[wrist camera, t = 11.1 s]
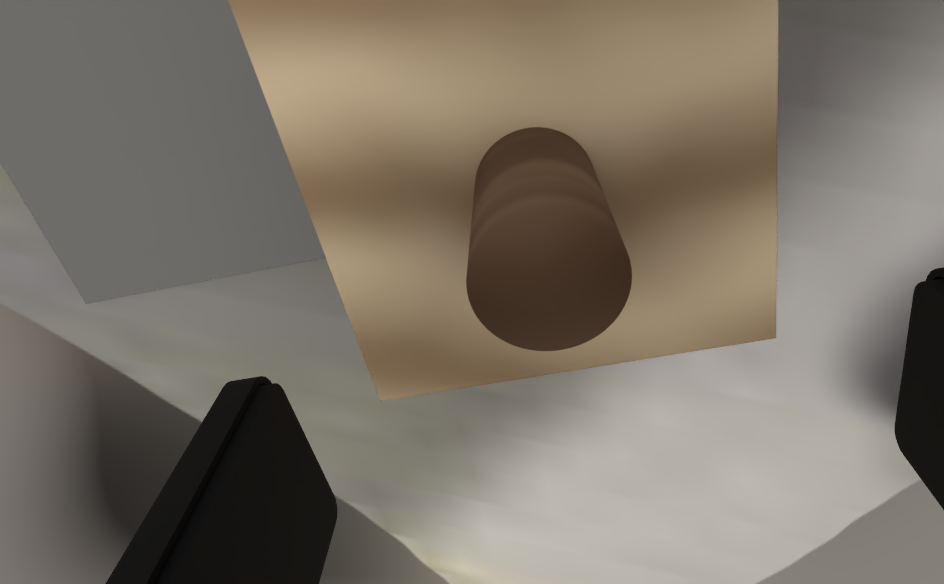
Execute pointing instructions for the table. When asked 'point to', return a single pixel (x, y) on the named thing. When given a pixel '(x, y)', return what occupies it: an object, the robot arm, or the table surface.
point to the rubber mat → (145, 144)
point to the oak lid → (531, 176)
